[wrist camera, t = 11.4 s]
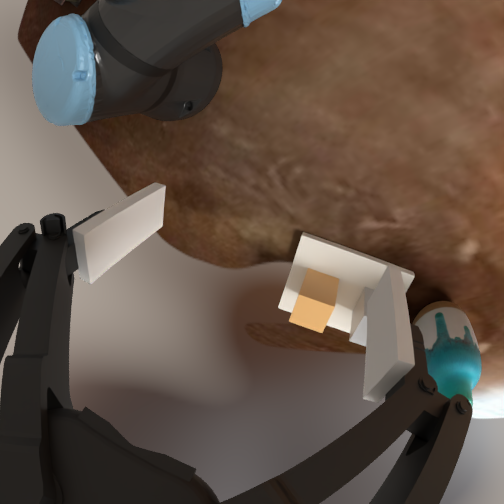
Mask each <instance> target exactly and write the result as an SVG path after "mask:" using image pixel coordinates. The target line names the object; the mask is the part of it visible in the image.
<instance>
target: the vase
mask: <svg viewBox="0 0 504 504" xmlns="http://www.w3.org/2000/svg"><path fill="white" fill-rule="evenodd" d="M412 324H413V325H416V326H418V327H419V329H420V331H421V333H422V334H423V340H424V346H425V353H426V360H427V368H428V374H429V375H430V376H432V377H433V378H434V380H435V381H436V383H437V386H438V392H439V393H441V394H442V395H444V396H446V397H447V398H449V399H451V398H452V397H453V396H454V395H456V394H462V395H463V396H465V397H466V398H467V399H468V400H469V401H470V403H471V406H472V405H473V400H472V389H473V388H474V387H475V386H476V384H477V382H478V381H479V378H480V375H481V356H480V351H479V347H478V344H477V340H476V337H475V334H474V331H473V329H472V326H471V324H470V322H469V320H468V318H467V316H466V314H465V313H464V311H463V310H462V309H461V308H460V307H459V306H458V305H456V304H454V303H452V302H449V301H438V302H434V303H431V304H429V305H427V306H426V307H424V308H423V309H422V310H421V311H420V312H419V313H418V314H417V316H416V317H415V319H414V321H413V323H412Z"/></svg>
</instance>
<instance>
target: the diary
mask: <svg viewBox="0 0 504 504" xmlns="http://www.w3.org/2000/svg"><path fill="white" fill-rule="evenodd" d="M54 1H56V2H57V3H59V4H60V5H63V4H64V2H65V1H70V3H72V4H73V5H74V6H76V7H78V5H79V4H80V2H81V0H54Z"/></svg>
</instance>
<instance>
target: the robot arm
mask: <svg viewBox="0 0 504 504" xmlns="http://www.w3.org/2000/svg"><path fill="white" fill-rule="evenodd" d="M281 2H282V0H97V1H96V2H95V3H94V4H93V5H92V6H91V7H90V8H89V9H88V10H87V11H86V12H85V13H84V14H83V15H81V16H79V15H78V14H69V15H67V16H64V17H59V18H57V19H56V20H54V21H53V22H52V23H51V24H50V25H49V26H48V27H47V28H46V30H45V31H44V33H43V35H42V36H41V38H40V41H39V43H38V46H37V49H36V52H35V56H34V61H33V71H32V86H33V93H34V98H35V101H36V104H37V106H38V109H39V111H40V112H41V114H42V115H43V117H44V118H45V119H46V120H47V121H49V122H51V123H53V124H55V125H58V126H66V125H82V124H85V123H86V122H90V121H95V120H100V119H105V118H111V117H117V116H123V115H129V114H136V113H141V114H143V115H146V116H149V117H151V118H154V119H157V120H161V121H175V120H182V119H186V118H189V117H191V116H193V115H195V114H197V113H198V112H200V111H201V110H203V109H204V108H205V107H206V106H207V105H208V104H209V102H210V101H211V100H212V98H213V97H214V95H215V94H216V92H217V90H218V87H219V84H220V81H221V76H222V59H221V55H220V52H219V49H218V47H217V46H216V44H215V42H217V41H219V40H220V39H222V38H224V37H226V36H227V35H229V34H231V33H233V32H235V31H236V30H238V29H240V28H242V27H244V28H245V27H248V26H249V24H250V22H252V21H254V20H256V19H257V18H259V17H261V16H263V15H265V14H267V13H268V12H270V11H272V10H274V9H276V8H277V7H278V6H279V5H280V3H281ZM165 189H166V186H165V185H162V184H159V183H156V182H155V183H153V184H151V185H149V186H147V187H145V188H144V189H142V190H140V191H138V192H136V193H134V194H132V195H131V196H129V197H127V198H125V199H123V200H122V201H120V202H118V203H116V204H114V205H113V206H111V207H109V208H107V209H106V210H101V211H97V212H95V213H93V214H91V215H90V216H89V217H86V218H85V219H83V221H80V222H78V223H76V224H75V225H73V226H72V227H70V228H68V229H67V230H66V222H65V216H64V215H62V214H59V213H53V214H49V215H46V216H44V217H43V218H42V219H41V220H40V225H41V231H42V234H37V233H35V227H34V225H33V224H30V223H23V224H20V225H19V226H17V227H16V228H15V229H13V231H12V232H11V233H10V234H9V235H8V237H7V238H6V239H5V240H4V242H3V243H2V244H1V246H0V363H1V360H2V358H3V355H4V353H5V350H6V348H7V345H8V342H9V340H10V338H11V336H12V333H13V331H14V329H15V327H16V324H17V322H18V320H19V324H18V329H17V335H16V341H15V347H14V353H13V355H12V356H7V357H6V358H5V362H4V368H3V378H2V388H1V401H0V504H319V503H321V502H322V501H323V500H325V499H326V498H328V497H329V496H331V495H332V494H333V493H335V492H336V491H337V490H339V489H340V488H341V487H343V486H344V485H345V484H346V483H348V482H349V481H350V480H352V479H353V478H354V477H355V476H356V475H358V474H359V473H360V472H361V471H363V470H364V469H365V468H366V467H367V466H368V465H370V463H372V462H373V461H374V460H375V459H376V458H377V457H378V456H380V455H381V454H382V453H383V452H384V451H385V450H386V449H387V448H388V447H389V446H390V445H391V444H392V443H393V442H394V441H395V440H396V439H397V438H398V437H399V436H400V435H401V434H402V433H403V432H404V431H405V430H408V431H409V432H411V433H412V435H411V437H410V439H409V440H408V442H407V444H406V446H405V448H404V450H403V451H402V453H401V455H400V457H399V458H398V460H397V462H396V464H395V465H394V467H393V469H392V470H391V472H390V473H389V475H388V477H387V478H386V480H385V481H384V483H383V484H382V486H381V487H380V489H379V490H378V492H377V493H376V495H375V496H374V498H373V499H372V501H371V502H370V503H369V504H439V503H440V501H441V499H442V497H443V495H444V492H445V490H446V488H447V486H448V483H449V481H450V479H451V476H452V474H453V471H454V468H455V466H456V463H457V461H458V458H459V455H460V452H461V449H462V447H463V443H464V440H465V437H466V434H467V431H468V427H469V424H470V420H471V417H472V406H471V403H470V401H469V400H468V399H467V398H466V397H465V396H463V395H462V394H456V395H454V396H453V397H452V398H451V399H449V398H447V397H446V396H444V395H442V394H441V393H439V392H438V386H437V383H436V381H435V380H434V378H433V377H432V376H430V375H429V374H428V368H427V360H426V353H425V346H424V340H423V334H422V333H421V331H420V329H419V327H418V326H416V325H413V324H410V319H409V312H408V306H407V300H406V294H405V289H404V283H403V278H402V273H401V269H399V268H396V267H394V266H391V265H389V264H388V266H387V268H386V270H385V272H384V274H383V276H382V277H381V279H380V281H379V283H378V285H377V287H376V288H375V290H374V292H373V294H372V295H371V297H370V299H369V300H368V302H367V342H366V362H365V377H364V390H363V399H366V400H370V401H374V402H377V403H378V402H379V401H380V400H381V399H382V398H383V397H384V396H385V395H386V397H385V402H384V403H383V404H382V405H380V406H379V407H378V408H377V409H376V410H374V411H373V412H372V413H371V414H370V415H368V416H367V417H366V418H364V419H363V420H362V421H361V422H359V423H358V424H357V425H355V426H354V427H353V428H352V429H350V430H349V431H347V432H346V433H345V434H343V435H342V436H340V437H339V438H338V439H336V440H335V441H333V442H332V443H331V444H329V445H328V446H326V447H325V448H323V449H322V450H320V451H319V452H317V453H316V454H314V455H312V456H311V457H309V458H308V459H306V460H305V461H303V462H301V463H300V464H298V465H296V466H295V467H293V468H291V469H289V470H288V471H286V472H284V473H282V474H280V475H279V476H277V477H274V478H272V479H270V480H268V481H266V482H264V483H262V484H260V485H258V486H256V487H254V488H252V489H250V490H248V491H246V492H244V493H241V494H240V495H237V496H235V497H233V498H231V499H228V500H226V501H223V502H221V503H220V502H219V500H218V498H217V496H216V495H215V493H214V492H213V490H212V489H211V488H210V487H209V486H208V484H207V483H206V482H204V481H203V480H202V479H201V478H200V477H198V476H197V475H196V474H195V472H196V469H195V468H193V467H191V466H189V465H186V464H184V463H182V462H180V461H178V460H176V459H173V458H171V457H169V456H167V455H165V454H161V453H156V452H152V451H149V450H146V449H142V448H139V447H135V446H133V445H131V444H130V443H129V442H128V441H127V440H126V439H125V438H124V437H123V436H122V435H121V434H120V433H119V432H118V431H117V430H116V429H115V428H114V427H113V426H112V425H111V424H110V423H109V422H107V421H106V420H104V419H103V418H101V417H100V416H98V415H97V414H95V413H94V412H92V411H91V410H90V409H88V408H87V407H85V408H84V409H83V411H78V410H74V409H73V406H72V402H71V399H70V392H69V335H70V318H71V305H72V294H73V284H74V274H73V272H74V271H76V270H77V269H78V270H79V276H80V279H82V280H84V281H85V282H87V283H89V284H92V283H93V282H94V281H95V280H96V279H98V278H99V277H100V276H101V275H102V274H103V273H105V272H106V271H107V270H108V269H109V268H111V267H112V266H113V265H114V264H115V263H117V262H118V261H119V260H120V259H122V258H123V257H124V256H125V255H126V254H128V253H129V252H130V251H131V250H133V249H134V248H135V247H136V246H138V245H139V244H140V243H142V242H143V241H144V240H145V239H147V238H148V237H149V236H151V235H152V234H153V233H154V232H156V231H157V230H158V229H160V228H161V227H162V226H163V212H164V200H165ZM19 262H20V267H19ZM18 267H19V268H18ZM19 318H20V319H19Z"/></svg>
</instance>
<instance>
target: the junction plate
mask: <svg viewBox="0 0 504 504" xmlns="http://www.w3.org/2000/svg"><path fill="white" fill-rule="evenodd" d="M388 264H389V265H391V266H394V267H396V268H399V269H401V273H402V278H403V283H404V289H405V293H406V291H407V290H408V288H409V286H410V284H411V283H412V281H413V279H414V277H415V275H414V272H412V271H410V270H407V269H404V268H402V267H399V266H397V265H394V264H391V263H389V262H386V261H383V260H381V259H378V258H375V257H372V256H370V255H367V254H364V253H362V252H359V251H356V250H353V249H351V248H348V247H345V246H342V245H339V244H337V243H334V242H331V241H328V240H325V239H322V238H320V237H317V236H314V235H311V234H308V233H305V232H303V233H302V236H301V239H300V242H299V245H298V249H297V252H296V255H295V258H294V261H293V264H292V267H291V270H290V273H289V276H288V280H287V282H286V285H285V288H284V292H283V294H282V298H281V300H280V303H279V306H278V308H280V309H283V310H285V311H288V312H291V313H292V311H293V308H294V305H295V303H296V300H297V297H298V294H299V291H300V289H301V286H302V283H303V281H304V278H305V275H306V272H307V269H308V268H310V269H313V270H316V271H318V272H321V273H324V274H327V275H330V276H333V277H335V278H338V279H339V284H338V291H337V297H336V304H335V308H334V310H333V312H332V314H331V316H330V318H329V320H328V322H327V324H326V325H328V326H331V327H333V328H336V329H339V330H342V331H345V332H348V333H350V339H349V341H351V342H354V343H357V344H360V345H363V346H366V342H367V302H368V300H369V299H370V297H371V295H372V294H373V292H374V290H375V288H376V287H377V285H378V283H379V281H380V279H381V277H382V276H383V274H384V272H385V270H386V268H387V266H388Z"/></svg>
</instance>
